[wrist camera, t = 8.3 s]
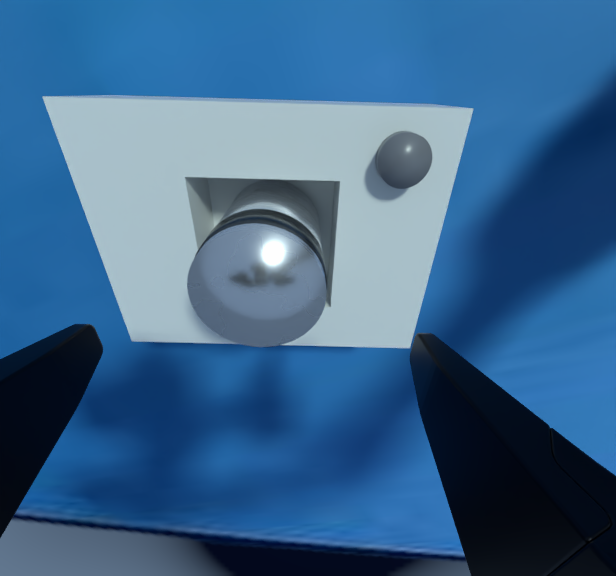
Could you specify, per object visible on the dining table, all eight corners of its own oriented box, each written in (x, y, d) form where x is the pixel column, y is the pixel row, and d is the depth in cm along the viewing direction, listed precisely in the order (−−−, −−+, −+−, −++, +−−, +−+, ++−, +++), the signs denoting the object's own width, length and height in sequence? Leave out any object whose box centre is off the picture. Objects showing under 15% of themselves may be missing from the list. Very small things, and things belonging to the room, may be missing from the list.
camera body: (430, 104, 16) (483, 109, 11) (391, 299, 22) (413, 358, 17) (114, 95, 16) (25, 96, 11) (166, 293, 22) (124, 351, 17)
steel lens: (323, 179, 16) (333, 230, 10) (318, 268, 19) (323, 349, 13) (222, 176, 16) (172, 226, 10) (232, 265, 19) (197, 346, 13)
